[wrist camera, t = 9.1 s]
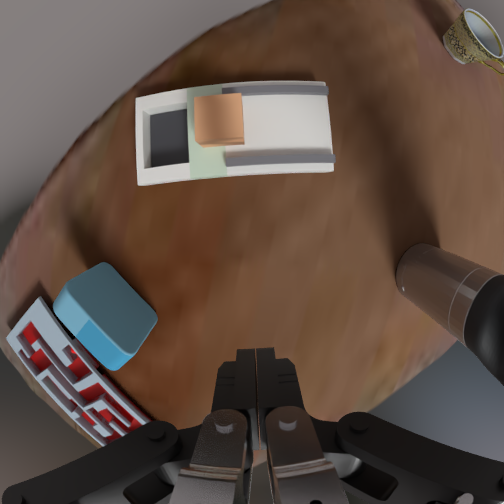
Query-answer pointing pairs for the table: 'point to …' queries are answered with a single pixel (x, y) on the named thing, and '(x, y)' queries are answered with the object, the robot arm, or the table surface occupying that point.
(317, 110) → the tray
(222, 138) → the terracotta cube
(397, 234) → the table surface
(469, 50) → the ceramic cup
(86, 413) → the maze game
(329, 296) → the table surface
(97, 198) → the table surface
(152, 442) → the robot arm
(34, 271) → the table surface
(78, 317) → the blue square slab
